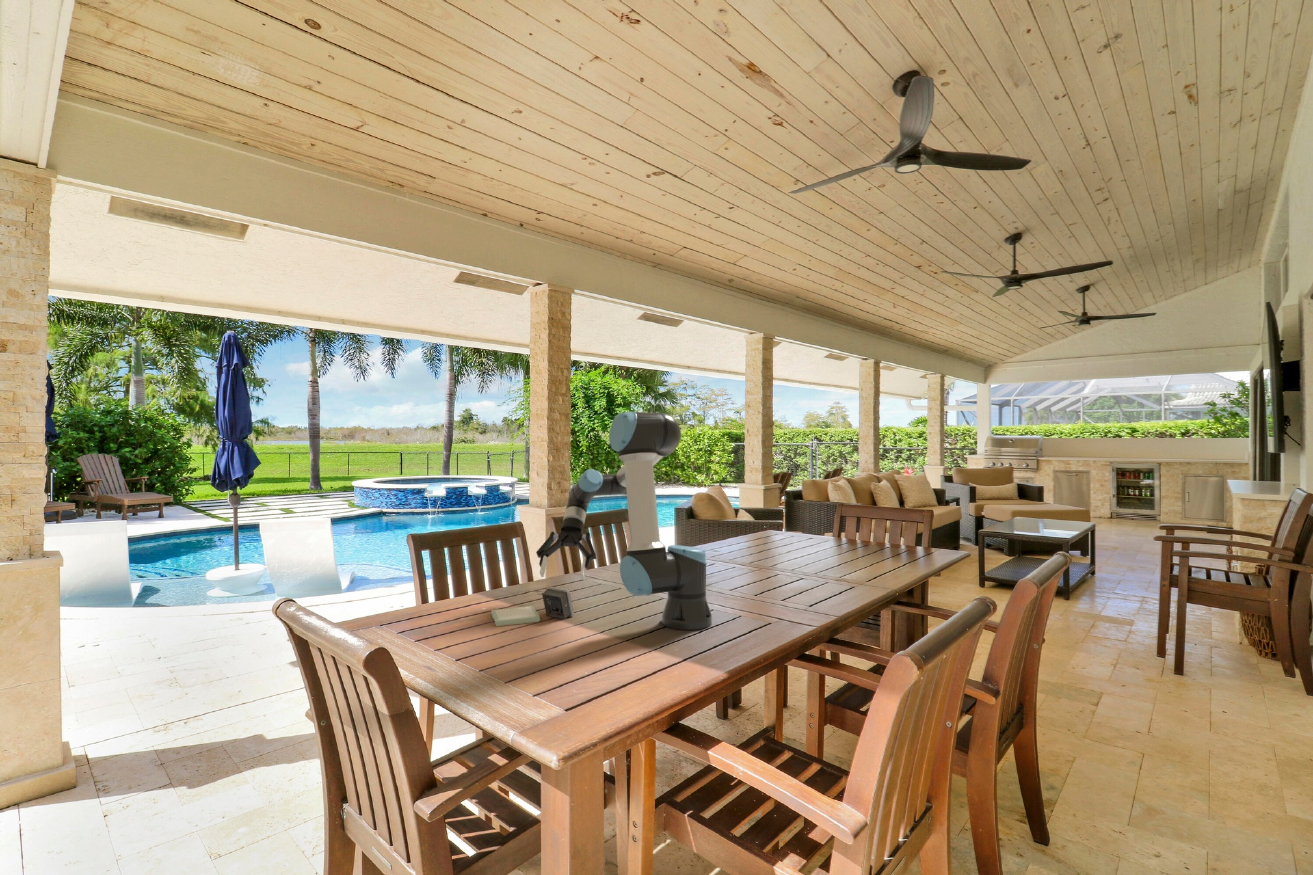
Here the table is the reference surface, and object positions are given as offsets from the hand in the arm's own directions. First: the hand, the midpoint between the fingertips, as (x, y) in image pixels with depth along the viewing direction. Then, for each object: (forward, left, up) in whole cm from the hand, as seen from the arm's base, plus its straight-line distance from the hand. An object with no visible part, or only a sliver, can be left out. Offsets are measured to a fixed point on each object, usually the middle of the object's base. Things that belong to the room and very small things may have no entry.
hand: (561, 575), depth 202 cm
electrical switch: (-6, +2, -12) cm, 13 cm away
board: (-3, +15, -11) cm, 20 cm away
